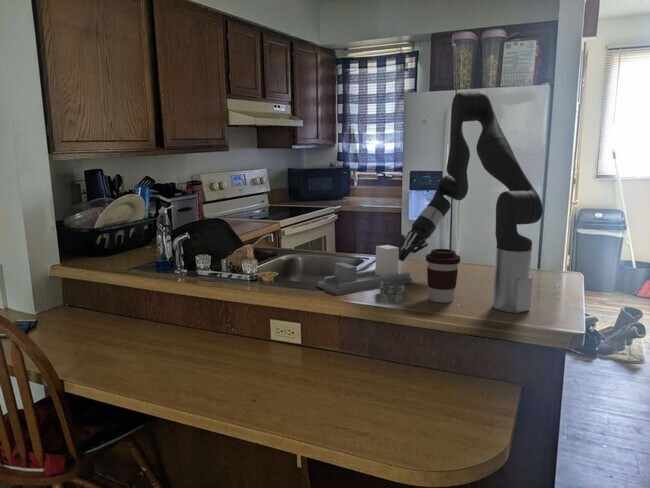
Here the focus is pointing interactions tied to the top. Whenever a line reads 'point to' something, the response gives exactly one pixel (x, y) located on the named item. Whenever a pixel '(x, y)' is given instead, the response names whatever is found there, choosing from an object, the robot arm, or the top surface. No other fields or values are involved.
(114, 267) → the top surface
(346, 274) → the grey rectangular block
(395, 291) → the egg carton
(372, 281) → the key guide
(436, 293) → the coffee cup
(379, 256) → the block
